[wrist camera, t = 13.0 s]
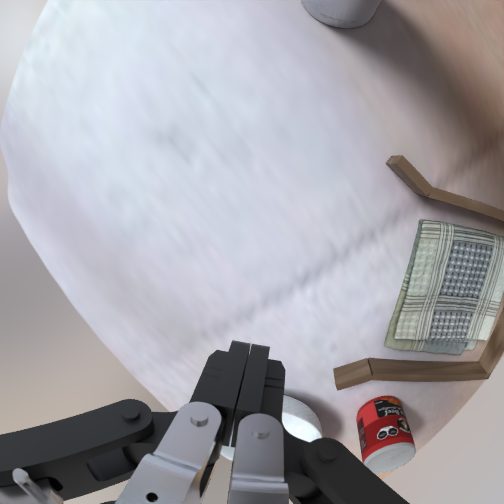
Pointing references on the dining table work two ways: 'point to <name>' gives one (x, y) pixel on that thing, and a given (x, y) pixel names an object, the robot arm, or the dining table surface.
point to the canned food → (384, 435)
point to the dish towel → (448, 290)
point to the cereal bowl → (292, 423)
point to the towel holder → (427, 370)
